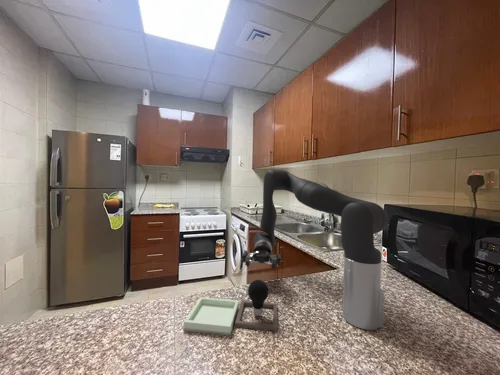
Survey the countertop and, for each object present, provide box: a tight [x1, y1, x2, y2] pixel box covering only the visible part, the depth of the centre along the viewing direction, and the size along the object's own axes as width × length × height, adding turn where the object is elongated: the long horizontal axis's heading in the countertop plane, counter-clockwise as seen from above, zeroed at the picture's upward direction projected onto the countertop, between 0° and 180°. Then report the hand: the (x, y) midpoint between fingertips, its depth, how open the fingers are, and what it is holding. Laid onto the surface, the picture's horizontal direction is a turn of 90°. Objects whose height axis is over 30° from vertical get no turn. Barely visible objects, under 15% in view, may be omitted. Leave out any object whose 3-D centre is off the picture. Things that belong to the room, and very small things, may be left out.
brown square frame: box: [234, 300, 278, 332], centre depth 59 cm, size 11×11×1 cm
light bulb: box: [247, 279, 269, 317], centre depth 59 cm, size 6×6×10 cm
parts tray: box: [183, 296, 240, 336], centre depth 57 cm, size 12×12×2 cm
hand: (260, 265), depth 70 cm, fingers open, 8 cm apart
